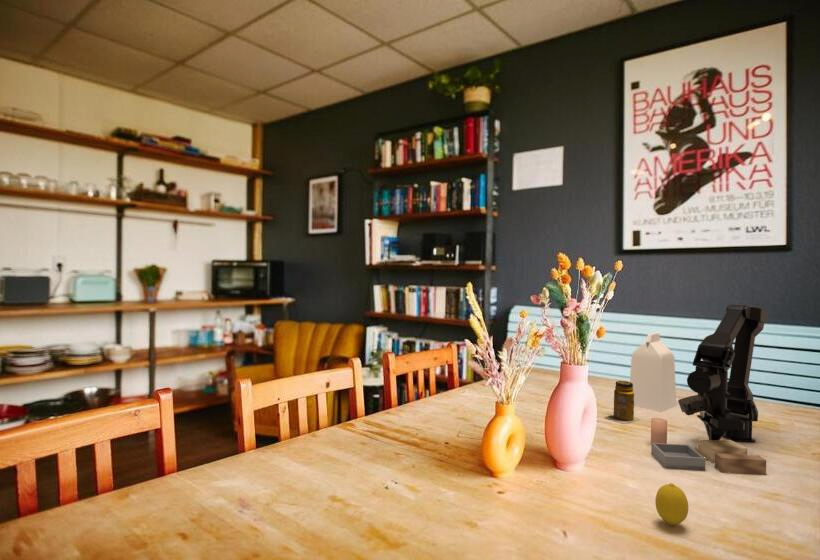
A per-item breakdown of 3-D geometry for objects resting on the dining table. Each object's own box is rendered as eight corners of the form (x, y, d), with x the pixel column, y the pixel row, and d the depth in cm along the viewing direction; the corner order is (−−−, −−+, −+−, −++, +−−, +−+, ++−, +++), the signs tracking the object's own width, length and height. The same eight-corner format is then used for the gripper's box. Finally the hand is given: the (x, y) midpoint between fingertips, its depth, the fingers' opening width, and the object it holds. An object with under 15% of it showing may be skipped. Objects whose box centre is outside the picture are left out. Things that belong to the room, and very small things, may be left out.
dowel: (663, 442, 135) (663, 418, 134) (669, 447, 131) (669, 422, 130) (648, 442, 135) (648, 417, 135) (653, 447, 131) (654, 422, 131)
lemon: (649, 518, 93) (649, 477, 93) (675, 517, 94) (676, 477, 94) (666, 533, 88) (667, 490, 88) (694, 532, 88) (695, 489, 88)
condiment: (639, 419, 155) (640, 383, 155) (624, 424, 151) (624, 386, 150) (619, 414, 161) (619, 378, 161) (603, 418, 157) (604, 382, 156)
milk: (661, 412, 164) (662, 337, 163) (628, 404, 172) (629, 333, 172) (676, 406, 171) (677, 334, 170) (644, 399, 180) (645, 330, 179)
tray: (688, 456, 125) (688, 444, 125) (705, 470, 116) (705, 458, 116) (651, 454, 126) (651, 442, 126) (665, 468, 117) (665, 456, 117)
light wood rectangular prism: (730, 454, 127) (730, 439, 127) (747, 463, 121) (747, 448, 121) (697, 454, 127) (697, 440, 127) (712, 464, 121) (713, 448, 121)
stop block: (758, 469, 117) (758, 455, 117) (766, 474, 114) (766, 460, 114) (714, 467, 118) (715, 453, 118) (721, 472, 115) (721, 457, 115)
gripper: (668, 378, 138) (667, 431, 139) (698, 395, 120) (697, 456, 120) (710, 380, 137) (708, 434, 137) (746, 397, 118) (744, 459, 119)
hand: (713, 445), depth 128 cm, fingers closed
